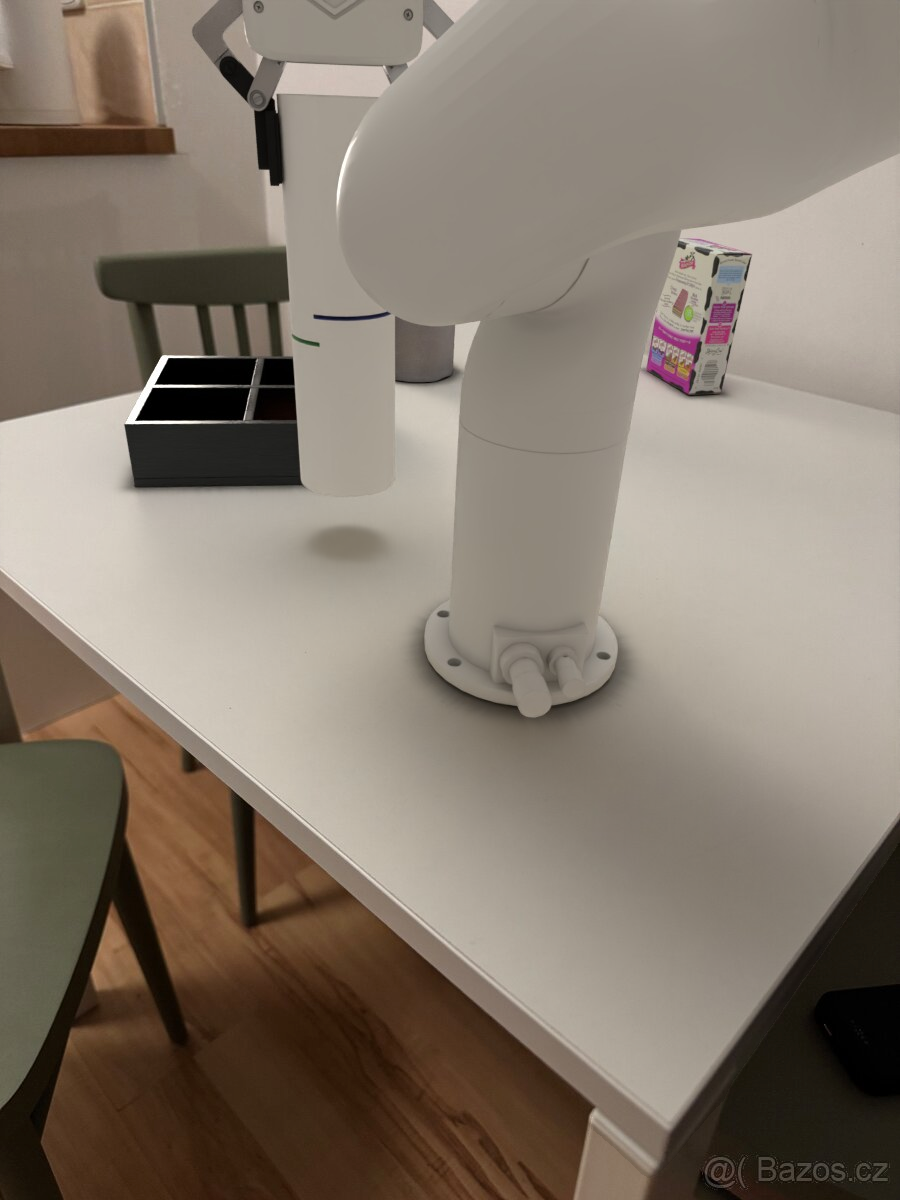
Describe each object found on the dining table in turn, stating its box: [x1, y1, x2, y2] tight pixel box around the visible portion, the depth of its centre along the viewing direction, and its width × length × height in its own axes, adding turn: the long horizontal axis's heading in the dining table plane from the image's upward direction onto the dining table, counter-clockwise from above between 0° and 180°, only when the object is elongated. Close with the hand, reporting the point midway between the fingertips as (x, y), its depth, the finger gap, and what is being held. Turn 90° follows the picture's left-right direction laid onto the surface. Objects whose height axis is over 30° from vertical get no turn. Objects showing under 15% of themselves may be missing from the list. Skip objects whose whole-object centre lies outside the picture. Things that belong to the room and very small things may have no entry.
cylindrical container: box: [275, 93, 396, 498], centre depth 58 cm, size 7×7×25 cm
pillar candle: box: [395, 316, 456, 383], centre depth 102 cm, size 10×10×15 cm
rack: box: [123, 355, 303, 488], centre depth 82 cm, size 20×20×6 cm
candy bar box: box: [645, 237, 753, 396], centre depth 103 cm, size 11×5×16 cm, turn 17°
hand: (338, 183), depth 53 cm, fingers closed on cylindrical container, 7 cm apart
